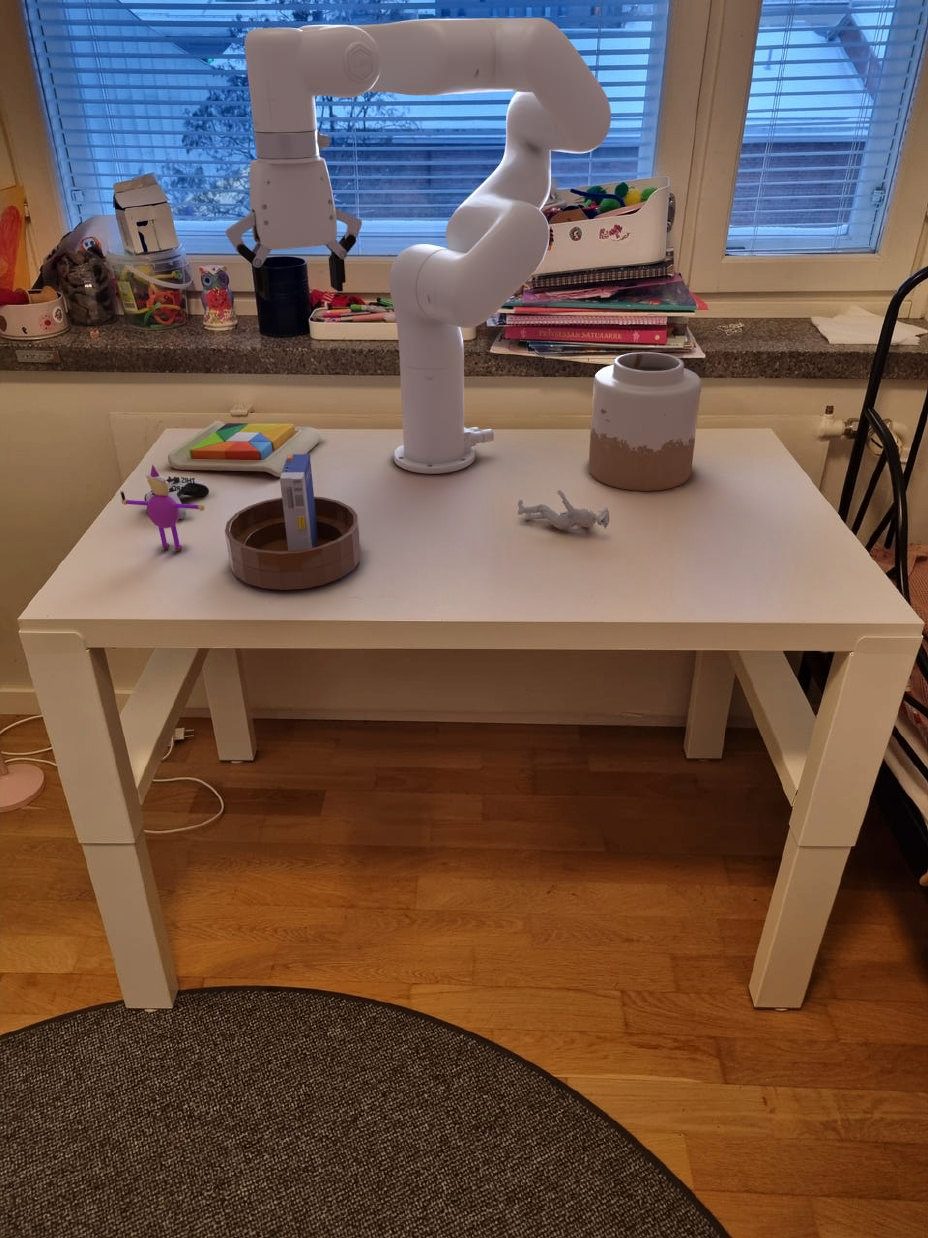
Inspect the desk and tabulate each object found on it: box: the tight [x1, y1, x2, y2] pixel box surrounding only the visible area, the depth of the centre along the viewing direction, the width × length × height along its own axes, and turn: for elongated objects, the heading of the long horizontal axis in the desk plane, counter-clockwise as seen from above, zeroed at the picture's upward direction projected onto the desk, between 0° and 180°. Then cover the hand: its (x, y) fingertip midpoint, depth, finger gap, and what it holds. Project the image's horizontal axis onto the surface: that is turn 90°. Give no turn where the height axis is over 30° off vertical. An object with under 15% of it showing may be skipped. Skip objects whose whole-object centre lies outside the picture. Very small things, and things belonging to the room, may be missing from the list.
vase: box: [588, 351, 702, 492], centre depth 142 cm, size 15×15×17 cm
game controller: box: [144, 476, 210, 520], centre depth 137 cm, size 10×5×6 cm
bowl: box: [224, 496, 362, 591], centre depth 121 cm, size 16×16×6 cm
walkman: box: [279, 453, 318, 551], centre depth 120 cm, size 8×3×12 cm, turn 1°
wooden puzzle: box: [167, 420, 322, 478], centre depth 153 cm, size 18×19×4 cm
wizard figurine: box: [119, 464, 205, 552], centre depth 122 cm, size 11×3×12 cm, turn 79°
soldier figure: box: [517, 490, 610, 531], centre depth 129 cm, size 8×5×12 cm
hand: (301, 293), depth 125 cm, fingers open, 9 cm apart
